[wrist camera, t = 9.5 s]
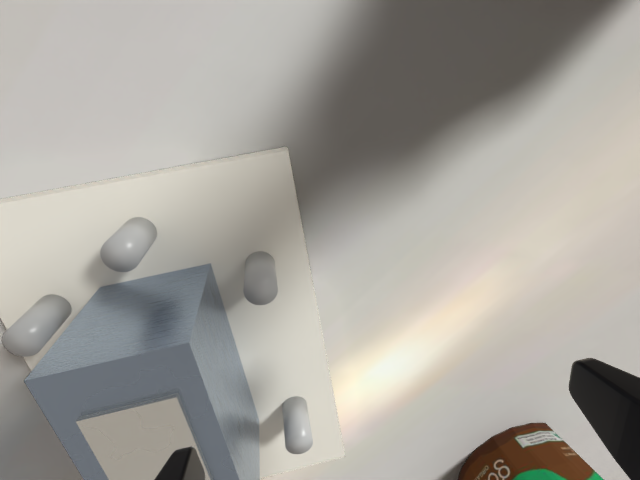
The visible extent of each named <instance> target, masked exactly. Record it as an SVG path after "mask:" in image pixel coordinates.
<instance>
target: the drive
mask: <svg viewBox="0 0 640 480" xmlns="http://www.w3.org/2000/svg"><path fill="white" fill-rule="evenodd" d="M24 382H25V384H26V385H27V387H28V389H29V390H30V392H31V394H32V395H33V397H34V398H35V400H36V402H37V403H38V405H39V407H40V408H41V410H42V412H43V413H44V415H45V417H46V418H47V420H48V422H49V423H50V425H51V426H52V428H53V430H54V431H55V433H56V435H57V436H58V438H59V440H60V441H61V443H62V445H63V446H64V448H65V450H66V451H67V453H68V454H69V456H70V458H71V459H72V461H73V463H74V464H75V466H76V468H77V469H78V471H79V473H80V474H81V476H82V477H83V479H84V480H154V479H155V478H156V476H157V475H158V473H159V472H160V470H161V469H162V468H163V466H164V465H165V463H166V462H167V460H168V459H169V457H170V456H171V454H172V453H173V452H174V451H175V450H178V449H182V448H186V447H194V448H195V449H196V451H197V454H198V456H199V459H200V461H201V464H202V466H203V468H204V472H205V480H260V457H259V418H258V415H257V411H256V408H255V405H254V402H253V398H252V395H251V392H250V389H249V386H248V382H247V379H246V376H245V373H244V369H243V366H242V363H241V360H240V356H239V353H238V350H237V347H236V344H235V340H234V337H233V334H232V331H231V327H230V324H229V321H228V318H227V314H226V311H225V308H224V305H223V302H222V298H221V295H220V292H219V289H218V285H217V282H216V279H215V276H214V272H213V269H212V266H211V263H210V264H205V265H201V266H196V267H191V268H187V269H182V270H177V271H173V272H168V273H163V274H159V275H154V276H149V277H145V278H140V279H135V280H131V281H126V282H121V283H117V284H112V285H107V286H103V287H100V288H99V289H98V290H97V291H96V293H95V294H94V295H93V296H92V298H91V299H90V300H89V301H88V302H87V304H86V305H85V306H84V307H83V309H82V310H81V311H80V312H79V314H78V315H77V316H76V317H75V318H74V320H73V321H72V322H71V323H70V325H69V326H68V327H67V328H66V330H65V331H64V332H63V333H62V334H61V336H60V337H59V338H58V339H57V341H56V342H55V343H54V344H53V346H52V347H51V348H50V349H49V350H48V352H47V353H46V354H45V355H44V357H43V358H42V359H41V360H40V362H39V363H38V364H37V365H36V366H35V368H34V369H33V370H32V371H31V373H30V374H29V375H28V376H27V378H26V379H25V380H24Z"/></svg>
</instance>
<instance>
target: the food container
mask: <svg viewBox="0 0 640 480" xmlns="http://www.w3.org/2000/svg"><path fill="white" fill-rule="evenodd" d="M458 480H604V479H603V478H602V477H600V476H599V475H598V474H597V473H596V472H595V471H594V470H593V469H592V468H591V467H590V466H589V465H588V464H587V463H586V462H585V461H584V460H583V459H582V458H581V457H580V456H579V455H578V454H577V453H576V452H575V451H574V450H573V449H572V448H571V447H570V446H568V445H567V444H566V443H565V442H564V441H563V440H562V439H561V438H560V437H559V436H558V435H557V434H556V433H555V432H554V431H553V430H552V429H551V428H550V427H549V426H548V425H547V424H546V423H529V424H525V425H521V426H516V427H512V428H510V429H508V430H505V431H503V432H501V433H499V434H497V435H495V436H493V437H491V438H490V439H488V440H487V441H486V442H484V443H483V444H482V445H481V446H479V447H478V448H477V449H475V451H474V452H473V453H472V454H471V455H470V456H469V458H468V459H467V460H466V461H465V463H464V465H463V466H462V468H461V471H460V473H459V477H458Z"/></svg>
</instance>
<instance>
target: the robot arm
mask: <svg viewBox="0 0 640 480" xmlns="http://www.w3.org/2000/svg"><path fill="white" fill-rule="evenodd" d="M569 391H570V394H571V396H572V398H573V399H574V401H575V402H576V404H577V405H578V407H579V408H580V409H581V411H582V412H583V414H584V415H585V417H586V418H587V420H588V421H589V423H590V424H591V426H592V427H593V429H594V430H595V432H596V433H597V434H598V436H599V437H600V439H601V440H602V442H603V443H604V445H605V446H606V448H607V449H608V451H609V452H610V453H611V455H612V456H613V458H614V459H615V460H616V462H617V463H618V464H619V465H620V467H621V468H622V469H623V471H624V472H625V473H626V474H627V476H628V477H629V478H630V479H631V480H640V378H639V377H636V376H634V375H632V374H629V373H627V372H625V371H622V370H620V369H618V368H615V367H613V366H611V365H608V364H606V363H603V362H601V361H599V360H596V359H593V358H586V359H582V360H577V361H575V362H574V363H573V364H572V369H571V375H570V381H569ZM154 480H205V472H204V468H203V466H202V464H201V461H200V459H199V456H198V454H197V451H196V449H195V448H194V447H186V448H182V449H178V450H175V451H174V452H173V453H172V454H171V456H170V457H169V459H168V460H167V462H166V463H165V465H164V466H163V468H162V469H161V470H160V472H159V473H158V475H157V476H156V478H155V479H154Z"/></svg>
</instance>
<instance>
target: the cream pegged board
mask: <svg viewBox="0 0 640 480" xmlns="http://www.w3.org/2000/svg"><path fill="white" fill-rule="evenodd" d="M210 263H211V266H212V269H213V272H214V276H215V279H216V282H217V285H218V289H219V292H220V295H221V298H222V302H223V305H224V308H225V311H226V314H227V318H228V321H229V324H230V327H231V331H232V334H233V337H234V340H235V344H236V347H237V350H238V353H239V356H240V360H241V363H242V366H243V369H244V373H245V376H246V379H247V382H248V386H249V389H250V392H251V395H252V398H253V402H254V405H255V408H256V411H257V415H258V418H259V457H260V479H262V478H266V477H270V476H273V475H277V474H281V473H285V472H289V471H293V470H297V469H300V468H304V467H308V466H312V465H316V464H320V463H324V462H327V461H331V460H335V459H339V458H343V457H345V451H344V446H343V441H342V435H341V430H340V425H339V419H338V414H337V409H336V403H335V398H334V393H333V387H332V382H331V376H330V371H329V366H328V360H327V355H326V350H325V344H324V339H323V334H322V328H321V323H320V318H319V312H318V307H317V302H316V296H315V291H314V286H313V280H312V275H311V269H310V264H309V259H308V253H307V248H306V243H305V237H304V232H303V227H302V221H301V216H300V211H299V205H298V200H297V195H296V189H295V184H294V179H293V173H292V168H291V162H290V157H289V152H288V149H287V147H281V148H276V149H270V150H265V151H259V152H254V153H248V154H243V155H237V156H232V157H227V158H221V159H216V160H210V161H205V162H199V163H194V164H188V165H183V166H178V167H172V168H167V169H161V170H156V171H150V172H145V173H139V174H134V175H129V176H123V177H118V178H112V179H107V180H101V181H96V182H90V183H85V184H79V185H74V186H69V187H63V188H58V189H52V190H47V191H41V192H36V193H30V194H25V195H20V196H14V197H9V198H3V199H0V318H1V320H2V322H3V324H4V325H5V327H6V329H7V330H6V331H5V332H4V334H3V336H2V343H3V345H4V347H5V348H6V349H7V350H8V351H9V352H11V353H12V354H15V355H17V356H23V358H24V360H25V362H26V363H27V365H28V367H29V368H30V370H31V371H32V370H33V369H34V368H35V366H36V365H37V364H38V363H39V362H40V360H41V359H42V358H43V357H44V355H45V354H46V353H47V352H48V350H49V349H50V348H51V347H52V346H53V344H54V343H55V342H56V341H57V339H58V338H59V337H60V336H61V334H62V333H63V332H64V331H65V330H66V328H67V327H68V326H69V325H70V323H71V322H72V321H73V320H74V318H75V317H76V316H77V315H78V314H79V312H80V311H81V310H82V309H83V307H84V306H85V305H86V304H87V302H88V301H89V300H90V299H91V298H92V296H93V295H94V294H95V293H96V291H97V290H98V289H99V288H100V287H103V286H107V285H112V284H117V283H121V282H126V281H131V280H135V279H140V278H145V277H149V276H154V275H159V274H163V273H168V272H173V271H177V270H182V269H187V268H191V267H196V266H201V265H205V264H210Z"/></svg>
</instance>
